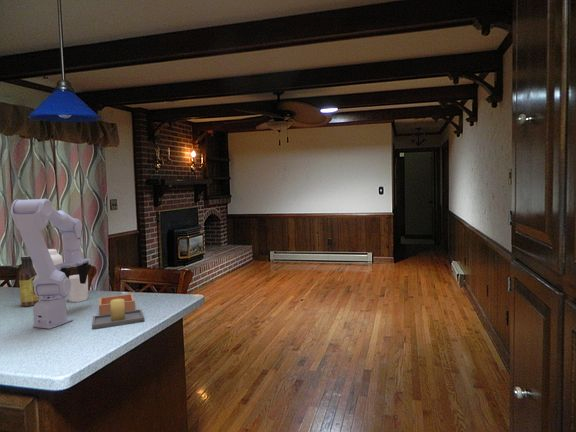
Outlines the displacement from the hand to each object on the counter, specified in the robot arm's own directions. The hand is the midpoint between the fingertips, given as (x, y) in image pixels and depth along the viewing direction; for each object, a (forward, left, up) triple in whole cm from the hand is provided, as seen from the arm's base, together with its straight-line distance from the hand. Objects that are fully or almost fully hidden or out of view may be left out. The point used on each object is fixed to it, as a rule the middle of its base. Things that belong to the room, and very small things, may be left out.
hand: (74, 285), depth 156 cm
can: (+16, +34, -10) cm, 39 cm away
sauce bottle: (+1, +26, -10) cm, 28 cm away
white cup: (+12, +12, -10) cm, 19 cm away
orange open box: (+5, -16, -9) cm, 19 cm away
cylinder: (-6, -26, -9) cm, 28 cm away
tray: (-6, -26, -9) cm, 28 cm away
